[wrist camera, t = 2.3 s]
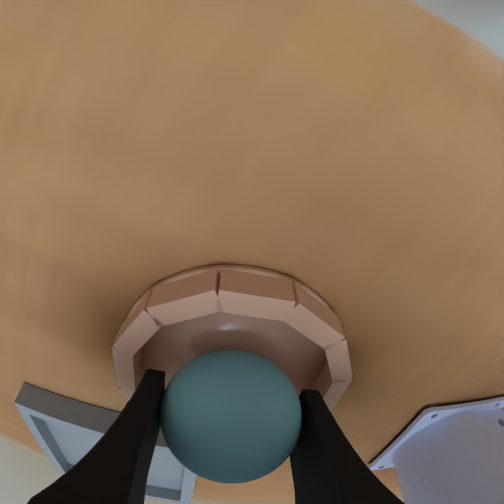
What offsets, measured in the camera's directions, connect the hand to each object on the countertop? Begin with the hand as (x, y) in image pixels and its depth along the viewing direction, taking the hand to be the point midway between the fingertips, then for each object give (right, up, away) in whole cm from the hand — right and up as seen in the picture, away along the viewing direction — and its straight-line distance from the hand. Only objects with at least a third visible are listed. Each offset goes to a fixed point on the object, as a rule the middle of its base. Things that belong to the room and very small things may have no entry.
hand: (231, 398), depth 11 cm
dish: (0, +1, +2) cm, 2 cm away
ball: (0, +1, +1) cm, 2 cm away
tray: (-8, -8, +6) cm, 13 cm away
